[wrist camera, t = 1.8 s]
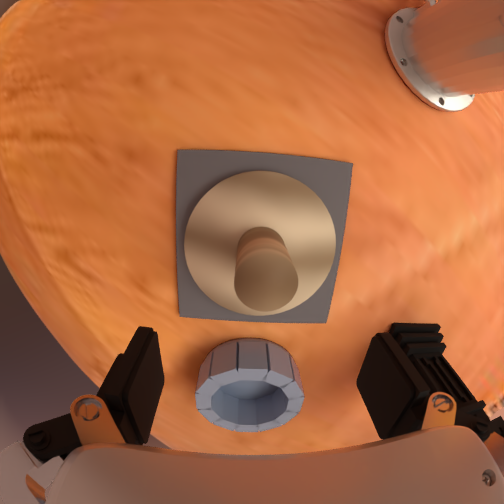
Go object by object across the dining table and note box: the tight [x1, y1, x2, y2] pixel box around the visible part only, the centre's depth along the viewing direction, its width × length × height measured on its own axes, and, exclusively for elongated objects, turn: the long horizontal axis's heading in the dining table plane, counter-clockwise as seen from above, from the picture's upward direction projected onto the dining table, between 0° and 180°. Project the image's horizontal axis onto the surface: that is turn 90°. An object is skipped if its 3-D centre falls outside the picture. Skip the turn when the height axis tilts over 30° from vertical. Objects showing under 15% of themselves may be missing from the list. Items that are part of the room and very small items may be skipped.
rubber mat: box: [176, 150, 353, 323], centre depth 24 cm, size 16×15×1 cm
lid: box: [184, 171, 336, 316], centre depth 21 cm, size 13×13×8 cm
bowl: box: [195, 338, 304, 432], centre depth 28 cm, size 11×11×5 cm
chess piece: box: [389, 323, 504, 438], centre depth 20 cm, size 8×8×20 cm
